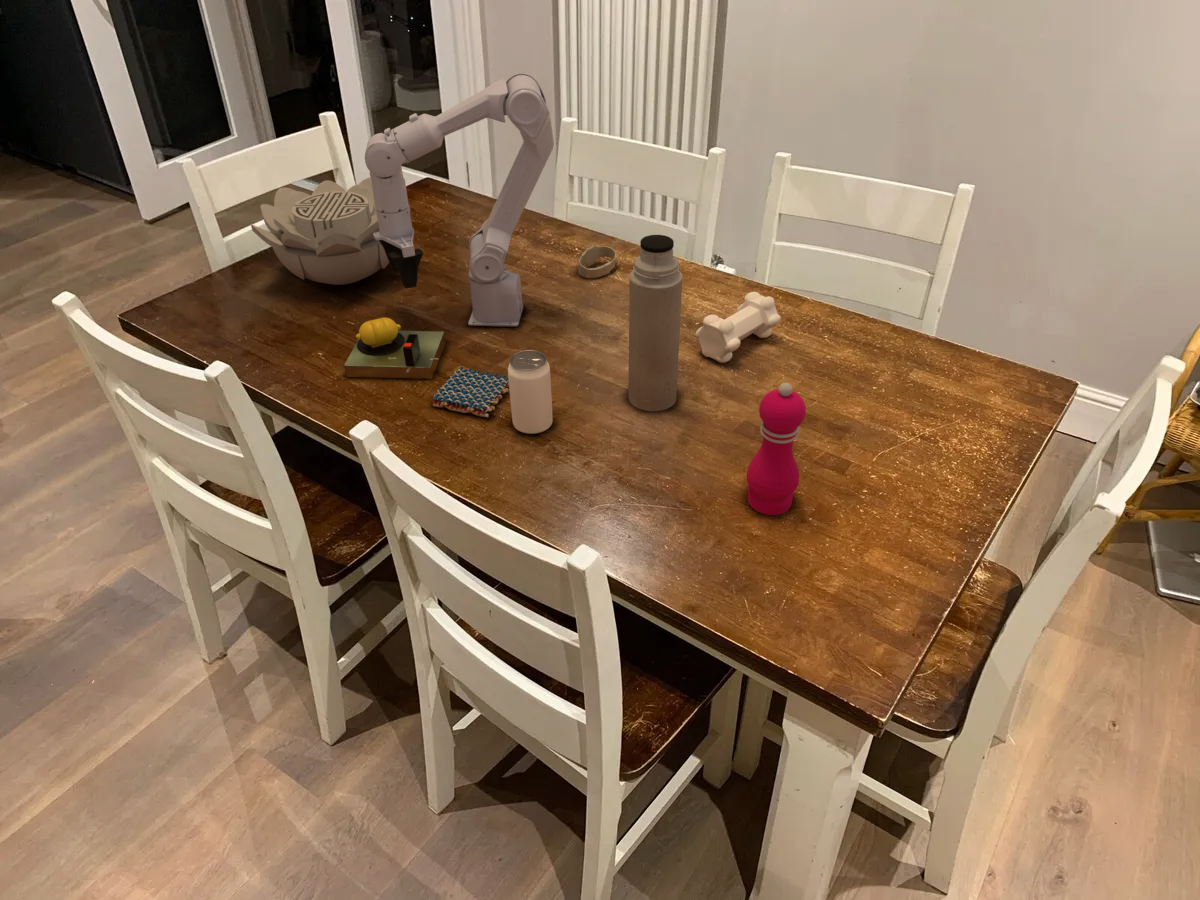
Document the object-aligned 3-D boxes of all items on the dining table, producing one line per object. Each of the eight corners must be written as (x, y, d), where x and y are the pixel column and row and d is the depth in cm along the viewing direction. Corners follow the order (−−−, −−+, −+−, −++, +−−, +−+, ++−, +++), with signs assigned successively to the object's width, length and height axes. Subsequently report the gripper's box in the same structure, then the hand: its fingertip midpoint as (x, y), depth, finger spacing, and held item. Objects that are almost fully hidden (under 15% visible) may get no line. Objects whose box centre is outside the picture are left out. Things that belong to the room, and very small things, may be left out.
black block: (412, 351, 151) (408, 332, 148) (420, 351, 151) (417, 332, 148) (405, 365, 147) (402, 346, 145) (414, 366, 147) (411, 346, 145)
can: (547, 437, 135) (543, 373, 127) (507, 432, 136) (501, 368, 128) (557, 413, 140) (554, 350, 132) (518, 409, 141) (513, 346, 133)
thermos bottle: (636, 380, 147) (638, 225, 130) (681, 389, 145) (690, 232, 128) (622, 406, 141) (622, 247, 124) (668, 415, 139) (676, 255, 122)
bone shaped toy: (729, 371, 149) (733, 330, 144) (691, 353, 154) (693, 313, 149) (780, 339, 157) (786, 299, 152) (743, 322, 162) (747, 283, 157)
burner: (409, 331, 156) (409, 330, 156) (398, 356, 150) (398, 355, 150) (364, 330, 157) (364, 329, 157) (351, 355, 150) (350, 354, 150)
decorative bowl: (406, 308, 168) (394, 236, 159) (255, 308, 169) (234, 237, 159) (432, 242, 192) (422, 175, 183) (299, 242, 192) (283, 176, 183)
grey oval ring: (603, 259, 184) (603, 237, 181) (624, 268, 180) (624, 246, 177) (571, 272, 179) (570, 250, 176) (591, 282, 176) (591, 260, 172)
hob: (450, 343, 158) (449, 330, 156) (434, 385, 147) (432, 372, 145) (365, 341, 159) (363, 329, 157) (343, 383, 148) (340, 370, 146)
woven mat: (429, 408, 142) (427, 398, 140) (459, 374, 149) (458, 364, 148) (486, 420, 139) (485, 410, 137) (514, 385, 146) (513, 375, 145)
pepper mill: (738, 485, 125) (752, 370, 113) (787, 482, 126) (806, 366, 113) (749, 519, 119) (765, 401, 107) (801, 516, 120) (821, 398, 108)
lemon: (399, 331, 156) (395, 310, 153) (406, 342, 153) (402, 320, 150) (355, 342, 153) (350, 320, 151) (361, 353, 150) (356, 331, 147)
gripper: (359, 196, 153) (372, 266, 162) (380, 226, 143) (393, 299, 151) (397, 189, 156) (409, 258, 164) (421, 218, 145) (432, 290, 154)
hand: (404, 278), depth 158 cm, fingers open, 7 cm apart
